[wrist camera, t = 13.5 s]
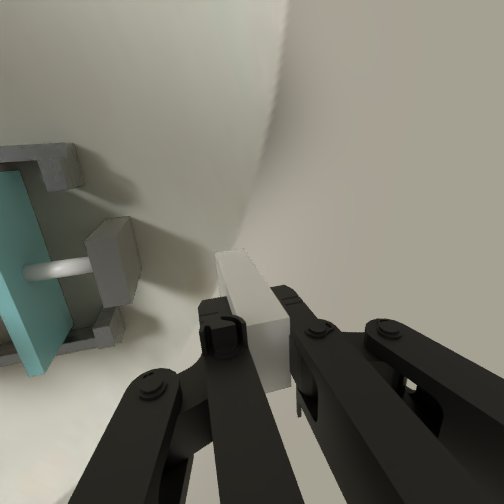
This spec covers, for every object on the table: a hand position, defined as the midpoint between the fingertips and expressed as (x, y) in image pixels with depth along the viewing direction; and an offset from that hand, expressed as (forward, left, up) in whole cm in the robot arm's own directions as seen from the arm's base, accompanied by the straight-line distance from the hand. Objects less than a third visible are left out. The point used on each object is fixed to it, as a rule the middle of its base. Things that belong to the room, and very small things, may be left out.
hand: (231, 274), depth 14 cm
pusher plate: (-9, 0, -7) cm, 11 cm away
